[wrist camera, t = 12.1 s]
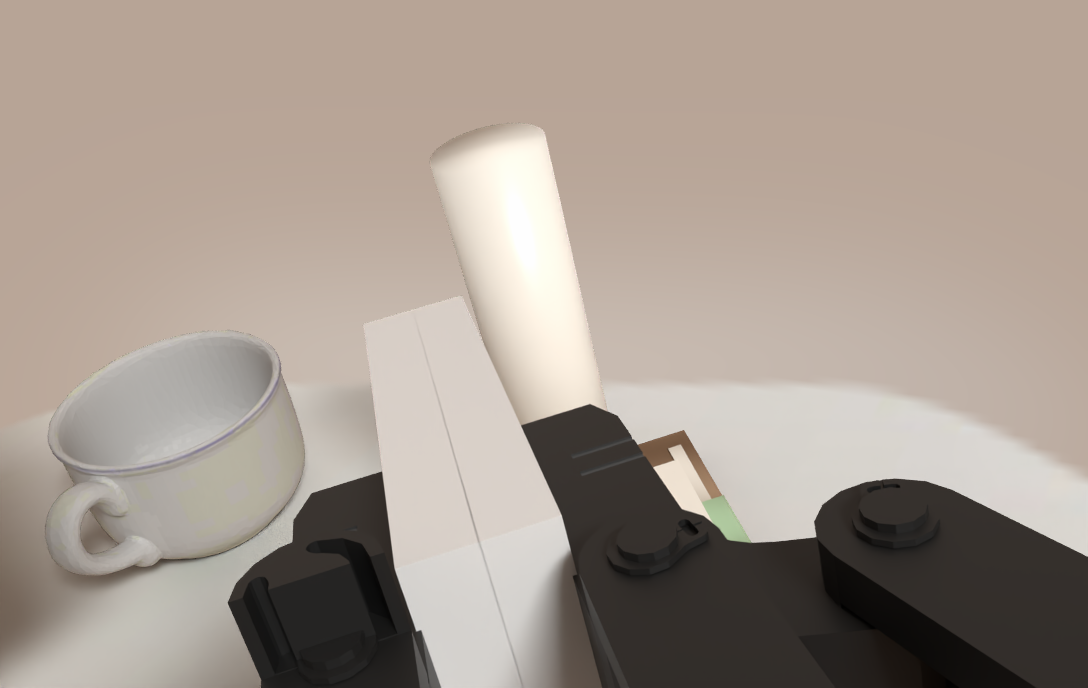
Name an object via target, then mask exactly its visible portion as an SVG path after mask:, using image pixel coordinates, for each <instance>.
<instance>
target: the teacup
mask: <svg viewBox="0 0 1088 688" xmlns="http://www.w3.org/2000/svg"><path fill="white" fill-rule="evenodd" d="M48 442H49V446H50V448H51V450H52V452H53V454H54V455H55V456H56V458H57V459H58V460H60V461H61V462H62V463H63V464H64V466H65V468H66V470H67V471H68V473H69V475H70V477H71V479H72V481H73V482H74V484H75V486H73V487H71V488H69V489H67V490H66V491H65V492H64V493H63V494H61V495H60V496H59V497H58V498H57V500H56V501H55V502H54V503H53V505H52V507H51V509H50V511H49V513H48V516H47V521H46V525H45V539H46V543H47V546H48V550H49V552H50V554H51V556H52V558H53V559H54V561H55V562H56V563H57V564H58V565H60V566H61V567H63V568H64V569H65V570H67V571H69V572H72V573H76V574H81V575H98V576H99V575H105V574H110V573H114V572H117V571H120V570H123V569H125V568H128V567H130V566H132V565H135V566H140V567H147V566H152V565H154V564H155V563H156V562H157V561H158V560H159V559H160V558H162V559H183V558H190V559H191V558H200V557H206V556H211V555H215V554H218V553H221V552H224V551H227V550H229V549H232V548H234V547H236V546H238V545H240V544H242V543H244V542H246V541H247V540H249V539H250V538H252V537H253V536H255V535H256V534H257V533H259V532H260V531H261V530H262V529H264V528H265V527H266V526H267V525H268V524H269V523H270V522H271V521H272V520H273V518H274V517H275V516H276V515H277V514H278V513H279V512H280V511H281V510H282V508H283V507H284V506H285V505H286V504H287V502H288V501H289V499H290V498H291V497H292V495H293V493H294V492H295V490H296V488H297V486H298V484H299V482H300V479H301V476H302V472H303V468H304V459H305V450H304V441H303V436H302V432H301V428H300V425H299V421H298V418H297V415H296V412H295V409H294V406H293V403H292V400H291V397H290V395H289V392H288V389H287V387H286V384H285V382H284V379H283V376H282V374H281V364H280V360H279V357H278V354H277V352H276V351H275V349H274V348H273V347H272V346H271V345H270V344H268V343H267V342H265V341H264V340H262V339H260V338H258V337H255V336H253V335H251V334H245V333H241V332H237V331H231V330H226V331H201V332H196V333H189V334H184V335H180V336H176V337H172V338H169V339H165V340H162V341H158V342H156V343H153V344H150V345H147V346H145V347H143V348H140V349H138V350H135V351H133V352H131V353H128V354H126V355H124V356H122V357H120V358H118V359H116V360H114V361H112V362H111V363H109V364H108V365H106V366H105V367H103V368H101V369H99V370H98V371H96V372H94V373H93V374H92V375H91V376H90V377H88V378H87V379H85V380H84V381H83V382H81V383H80V384H79V385H78V386H77V387H76V388H75V389H74V390H73V391H72V392H71V393H70V394H69V395H68V396H67V397H66V399H65V400H64V401H63V402H62V403H61V404H60V406H59V407H58V408H57V410H56V412H55V413H54V415H53V417H52V419H51V421H50V424H49V431H48ZM89 509H90V511H91V512H92V514H93V515H94V517H95V518H96V520H97V521H98V523H99V524H100V525H101V527H102V528H103V529H104V530H105V531H106V533H107V534H108V535H109V536H110V537H111V538H112V539H113V540H114V541H116V542H117V543H119V545H117V546H116V547H113V548H111V549H109V550H107V551H104V552H102V553H96V554H90V553H88V552H87V551H86V550H85V548H84V546H83V544H82V542H81V537H80V529H81V522H82V520H83V517H84V515H85V513H86V512H87V511H88V510H89Z"/></svg>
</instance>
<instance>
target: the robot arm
mask: <svg viewBox="0 0 1088 688" xmlns="http://www.w3.org/2000/svg"><path fill="white" fill-rule="evenodd" d="M364 332H365V340H366V347H367V356H368V363H369V370H370V379H371V387H372V395H373V403H374V411H375V418H376V426H377V434H378V442H379V450H380V458H381V465H382V472H379V473H376V474H372V475H369V476H366V477H363V478H360V479H356V480H353V481H350V482H347V483H343V484H340V485H337V486H334V487H331V488H327V489H324V490H321V491H318V492H314V493H312V494H311V495H310V497H309V498H308V500H307V501H306V503H305V504H304V506H303V507H302V509H301V510H300V512H299V513H298V515H297V516H296V518H295V519H294V522H293V542H292V543H290V544H287V545H285V546H283V547H280V548H278V549H277V550H275V551H274V552H272V553H271V554H269V555H268V556H266V557H265V558H263V559H262V560H260V561H259V562H257V563H256V564H254V565H253V566H252V567H251V568H250V569H249V570H248V572H247V573H246V574H245V575H244V576H243V577H242V578H241V579H240V580H239V581H238V582H237V583H236V585H235V587H234V589H233V592H232V594H231V596H230V599H229V601H228V605H229V607H230V609H231V611H232V614H233V616H234V618H235V621H236V623H237V625H238V627H239V630H240V632H241V634H242V637H243V639H244V641H245V643H246V646H247V648H248V650H249V653H250V655H251V657H252V660H253V662H254V664H255V666H256V669H257V671H258V673H259V676H260V678H261V688H1088V557H1087V556H1085V555H1083V554H1081V553H1079V552H1077V551H1075V550H1073V549H1071V548H1069V547H1067V546H1065V545H1063V544H1061V543H1058V542H1056V541H1054V540H1052V539H1050V538H1048V537H1046V536H1044V535H1042V534H1040V533H1038V532H1036V531H1034V530H1032V529H1030V528H1028V527H1026V526H1024V525H1022V524H1020V523H1018V522H1016V521H1014V520H1012V519H1010V518H1008V517H1006V516H1004V515H1002V514H1000V513H998V512H996V511H994V510H992V509H990V508H988V507H986V506H984V505H982V504H979V503H977V502H975V501H973V500H971V499H969V498H967V497H965V496H963V495H961V494H959V493H957V492H955V491H953V490H951V489H947V488H944V487H941V486H938V485H935V484H932V483H929V482H926V481H917V480H905V479H885V480H880V481H878V480H877V481H872V482H865V483H862V484H860V485H857V486H854V487H851V488H848V489H846V490H843V491H840V492H839V493H838V494H836V495H835V496H834V497H832V498H831V499H830V500H828V501H827V502H826V503H824V504H823V505H822V507H821V509H820V511H819V513H818V515H817V517H816V519H815V521H814V523H815V530H816V537H815V538H806V539H797V540H788V541H779V542H761V543H749V542H740V541H731V540H727V538H726V537H725V536H724V534H723V533H722V532H721V530H720V529H719V528H718V527H717V526H716V525H715V524H713V523H712V522H711V521H710V520H708V519H707V518H706V517H705V516H703V515H700V514H697V513H693V512H690V511H687V510H683V509H681V507H680V506H679V504H678V503H677V501H676V500H675V498H674V497H673V495H672V494H671V493H670V491H669V490H668V488H667V487H666V485H665V484H664V482H663V481H662V480H661V478H660V477H659V475H658V474H657V472H656V471H655V469H654V468H653V467H652V465H651V464H650V462H649V461H648V459H647V458H646V456H644V455H643V452H642V451H641V449H640V448H639V446H638V445H637V443H636V442H635V440H632V437H631V435H630V433H629V432H628V430H627V429H626V427H625V426H624V424H623V423H622V422H621V420H620V419H619V417H618V416H617V415H614V414H612V413H610V412H607V411H605V410H603V409H601V408H598V407H596V406H594V405H591V404H588V405H585V406H582V407H578V408H575V409H572V410H569V411H565V412H562V413H559V414H556V415H553V416H549V417H546V418H543V419H540V420H536V421H533V422H530V423H527V424H523V425H520V423H519V421H518V418H517V416H516V414H515V412H514V410H513V407H512V405H511V403H510V401H509V399H508V396H507V394H506V392H505V390H504V388H503V385H502V383H501V381H500V379H499V377H498V374H497V372H496V370H495V368H494V366H493V363H492V361H491V359H490V357H489V355H488V353H487V350H486V348H485V346H484V344H483V342H482V339H481V337H480V335H479V333H478V331H477V328H476V326H475V324H474V322H473V320H472V317H471V315H470V313H469V311H468V309H467V307H466V304H465V302H464V300H463V298H462V296H457V297H454V298H451V299H448V300H444V301H440V302H437V303H434V304H430V305H427V306H423V307H420V308H416V309H413V310H409V311H406V312H403V313H399V314H396V315H392V316H389V317H386V318H382V319H379V320H376V321H372V322H368V323H365V324H364Z"/></svg>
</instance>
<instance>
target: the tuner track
mask: <svg viewBox="0 0 1088 688" xmlns="http://www.w3.org/2000/svg"><path fill="white" fill-rule="evenodd" d="M638 446H639V448H640V449H641V451H642V452H643V455H644V456H646V458H647V459H648V461H649V462H650V464H651V465H652V467H656V466H659V465H662V464H665V463H668V462H671V461H674V460H677V459H678V461H679V462H680V464H681V466H682V468H683V470H684V472H685V473H686V475H687V477H688V479H689V481H690V482H691V484H692V486H693V488H694V490H695V491H696V493H697V495H698V497H699V499H700V501H701V502H702V504H703V506H704V508H705V510H706V511H707V513H708V515H709V517H710V519H711V521H712V522H713V524H715V525H716V526H717V527H718V528H719V529H720V530H721V532H722V533H723V534H724V536H725V537H726V538H727V540H731V541H740V542H749V543H751V541H750V540H749V538H748V536H747V535H746V533H745V531H744V529H743V528H742V526H741V524H740V523H739V521H738V519H737V517H736V516H735V514H734V512H733V511H732V509H731V507H730V506H729V504H728V502H727V500H726V499H725V497H724V495H722V494H721V493H720V491H719V489H718V488H717V486H716V484H715V482H714V481H713V479H712V477H711V476H710V474H709V472H708V470H707V469H706V467H705V465H704V464H703V462H702V460H701V458H700V457H699V455H698V453H697V452H696V450H695V448H694V446H693V445H692V443H691V441H690V440H689V438H688V436H687V435H686V433H685V431H684V430H683V431H680V432H677V433H673V434H670V435H667V436H664V437H661V438H658V439H655V440H651V441H648V442H645V443H642V444H639V445H638Z"/></svg>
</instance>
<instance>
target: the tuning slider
mask: <svg viewBox="0 0 1088 688" xmlns="http://www.w3.org/2000/svg"><path fill="white" fill-rule="evenodd" d="M430 166H431V170H432V173H433V176H434V180H435V183H436V186H437V190H438V193H439V196H440V200H441V203H442V206H443V210H444V213H445V216H446V219H447V223H448V226H449V230H450V233H451V236H452V240H453V243H454V246H455V250H456V253H457V256H458V259H459V263H460V266H461V269H462V273H463V276H464V280H465V283H466V286H467V289H468V293H469V296H470V299H471V303H472V306H473V310H474V313H475V316H476V319H477V323H478V326H479V330H480V333H481V336H482V340H483V343H484V346H485V348H486V350H487V353H488V355H489V357H490V359H491V361H492V363H493V366H494V368H495V370H496V372H497V374H498V377H499V379H500V381H501V383H502V385H503V388H504V390H505V392H506V394H507V396H508V399H509V401H510V403H511V405H512V407H513V410H514V412H515V414H516V416H517V418H518V421H519V423H520V425H523V424H527V423H530V422H533V421H536V420H540V419H543V418H546V417H549V416H553V415H556V414H559V413H562V412H565V411H569V410H572V409H575V408H578V407H582V406H585V405H588V404H591V405H594V406H596V407H598V408H601V409H603V410H605V411H607V412H608V410H607V406H606V401H605V397H604V393H603V388H602V384H601V379H600V375H599V371H598V366H597V362H596V358H595V353H594V348H593V345H592V340H591V335H590V331H589V327H588V322H587V318H586V313H585V309H584V305H583V300H582V296H581V291H580V287H579V282H578V278H577V273H576V269H575V265H574V261H573V256H572V251H571V247H570V243H569V239H568V234H567V229H566V225H565V220H564V216H563V212H562V207H561V203H560V198H559V194H558V190H557V185H556V181H555V176H554V172H553V168H552V163H551V159H550V154H549V150H548V146H547V141H546V137H545V133H544V131H543V130H542V129H541V128H539V127H537V126H535V125H531V124H525V123H506V124H498V125H492V126H488V127H483V128H479V129H476V130H473V131H470V132H467V133H464V134H462V135H460V136H457V137H456V138H453V139H451V140H449V141H448V142H446V143H444V144H443V145H442V146H440V147H439V148H438V149H437V150H436V151H435V152H434V153H433V154H432V156H431V158H430ZM653 468H654V469H655V471H656V472H657V474H658V475H659V477H660V478H661V480H662V481H663V482H664V484H665V485H666V487H667V488H668V490H669V491H670V493H671V494H672V495H673V497H674V498H675V500H676V501H677V503H678V504H679V506H680V507H681V509H683V510H687V511H690V512H693V513H697V514H700V515H703V516H705V517H706V518H707V519H708V520H710V521H711V519H710V517H709V515H708V513H707V511H706V510H705V508H704V506H703V504H702V502H701V501H700V499H699V497H698V495H697V493H696V491H695V490H694V488H693V486H692V484H691V482H690V481H689V479H688V477H687V475H686V473H685V472H684V470H683V468H682V466H681V464H680V462H679V461H678V459H677V460H674V461H671V462H668V463H665V464H662V465H659V466H656V467H653ZM711 522H712V521H711ZM712 523H713V522H712Z"/></svg>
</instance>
